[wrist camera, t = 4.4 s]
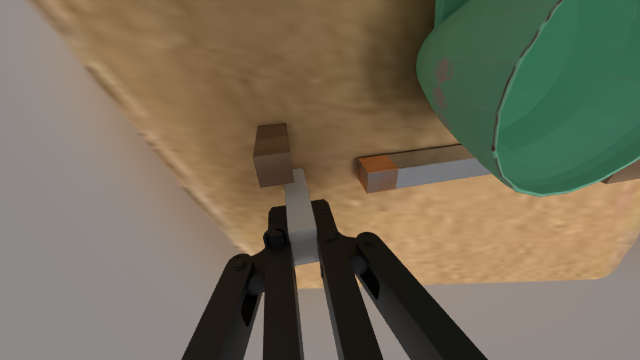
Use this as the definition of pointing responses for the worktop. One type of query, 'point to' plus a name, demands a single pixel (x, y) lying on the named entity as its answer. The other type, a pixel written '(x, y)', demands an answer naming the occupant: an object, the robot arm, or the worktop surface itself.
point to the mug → (538, 87)
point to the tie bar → (417, 168)
